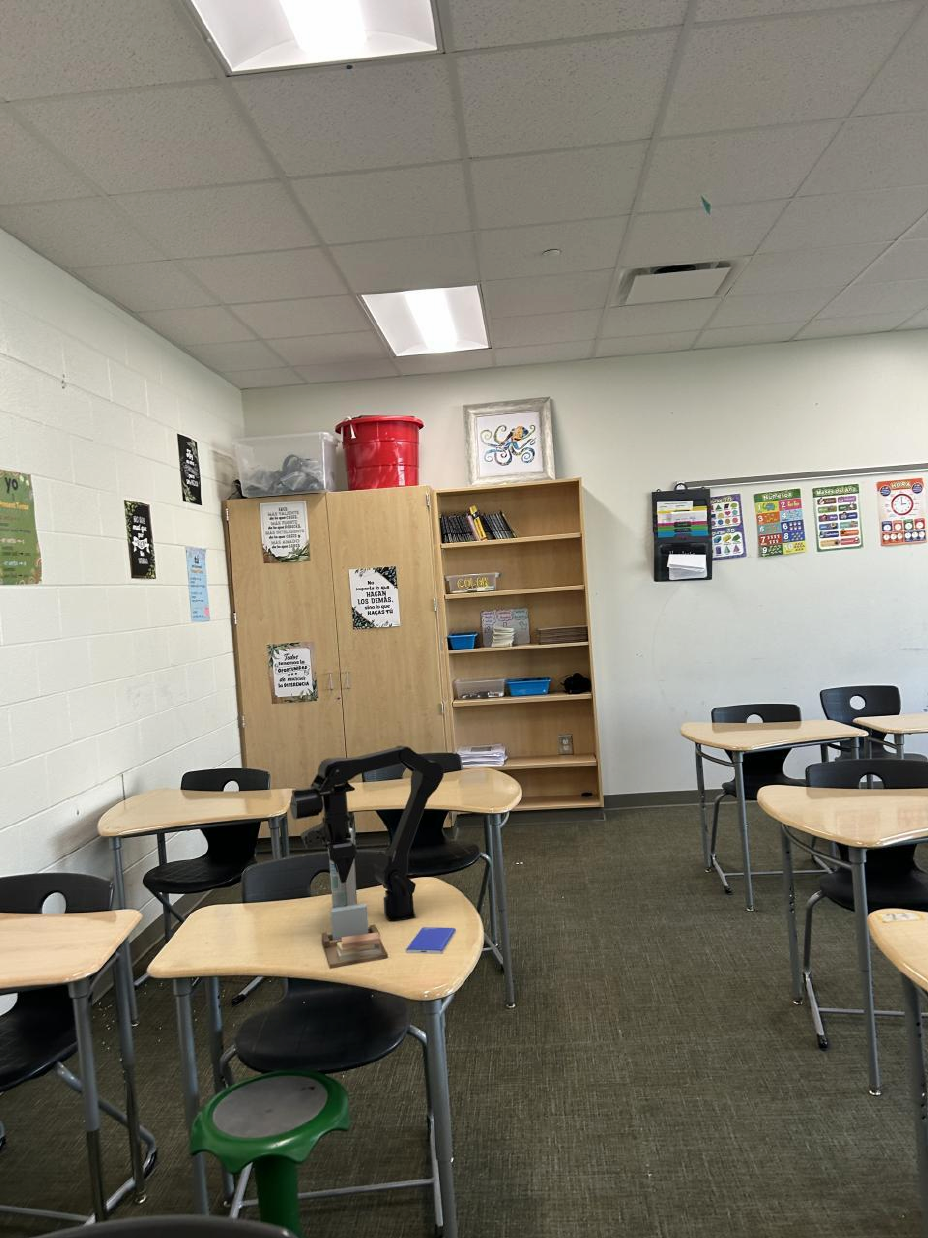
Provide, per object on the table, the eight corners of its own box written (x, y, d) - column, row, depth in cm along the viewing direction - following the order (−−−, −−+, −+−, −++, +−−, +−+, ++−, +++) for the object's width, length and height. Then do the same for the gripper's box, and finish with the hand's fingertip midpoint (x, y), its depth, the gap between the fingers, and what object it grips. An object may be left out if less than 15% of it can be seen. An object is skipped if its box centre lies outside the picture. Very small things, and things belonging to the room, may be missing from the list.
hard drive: (421, 927, 188) (405, 948, 176) (455, 927, 186) (441, 949, 174) (422, 933, 188) (405, 955, 176) (456, 934, 186) (442, 956, 174)
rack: (375, 933, 189) (374, 924, 189) (387, 958, 174) (387, 947, 174) (322, 943, 185) (321, 933, 185) (329, 968, 171) (329, 958, 171)
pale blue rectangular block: (367, 938, 186) (365, 903, 187) (369, 942, 184) (366, 906, 184) (332, 944, 184) (330, 909, 184) (333, 948, 182) (331, 912, 182)
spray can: (326, 910, 207) (321, 832, 208) (346, 902, 212) (341, 826, 213) (344, 914, 203) (338, 834, 204) (363, 906, 208) (357, 828, 208)
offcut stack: (378, 945, 179) (377, 930, 179) (382, 954, 174) (381, 938, 174) (336, 953, 177) (335, 937, 177) (339, 961, 172) (338, 945, 172)
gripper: (298, 809, 200) (303, 872, 200) (304, 825, 182) (310, 895, 182) (343, 802, 203) (348, 865, 203) (354, 818, 185) (359, 886, 185)
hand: (341, 877), depth 193 cm, fingers open, 9 cm apart
